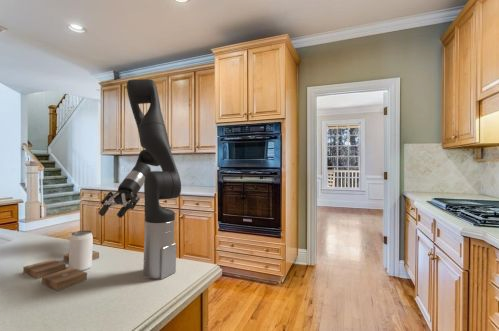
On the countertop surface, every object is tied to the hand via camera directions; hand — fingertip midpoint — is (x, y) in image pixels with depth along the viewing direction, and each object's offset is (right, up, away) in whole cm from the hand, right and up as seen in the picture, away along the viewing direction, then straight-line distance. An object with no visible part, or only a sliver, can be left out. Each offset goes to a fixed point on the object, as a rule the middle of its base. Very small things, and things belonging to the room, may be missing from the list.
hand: (109, 215), depth 96 cm
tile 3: (-9, -15, -3) cm, 18 cm away
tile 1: (-2, -15, -21) cm, 26 cm away
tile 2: (-13, -15, -14) cm, 25 cm away
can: (-4, -16, -11) cm, 20 cm away
